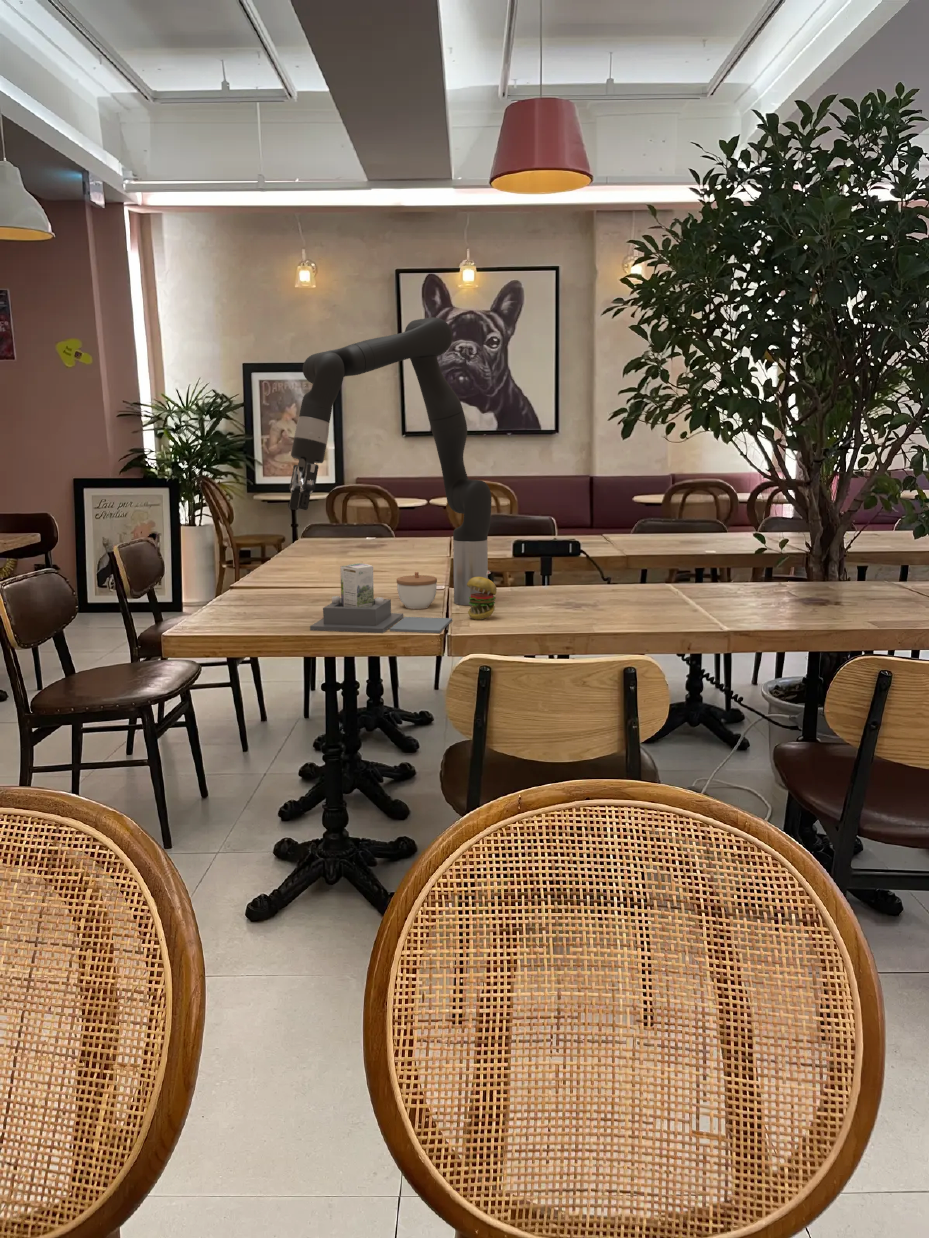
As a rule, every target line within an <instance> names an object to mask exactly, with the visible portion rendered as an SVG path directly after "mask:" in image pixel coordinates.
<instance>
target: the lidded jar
mask: <svg viewBox="0 0 929 1238" xmlns="http://www.w3.org/2000/svg"><path fill="white" fill-rule="evenodd" d="M437 582H438V579H437V577H435V576H432V575H422V574H421V575H420V574H419V572H418V571H415V572H414V575H403V576H399V577H397V578H396V584H397V587H396V588H397V594H398V595H397V596H398V598H399V600H400V602H401V603H402V604H403V605H404V606H405V609H409V610H410V609H411V610H422V609H423V610H424V609H427V608H429V607H430V605H431V604H432V603H433V602H434V600H435V598H436V594H437V587H438V586H437Z"/></svg>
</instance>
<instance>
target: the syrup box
mask: <svg viewBox="0 0 929 1238" xmlns="http://www.w3.org/2000/svg"><path fill="white" fill-rule="evenodd" d="M374 588H375V587H374V566H373V565H372V564H371V565H370V564H368V563H363V562H362V563H352V564H351V563H350V564H347V565H341V566H340V598H341V607H367V608H370V607H372V606H373V605H374V599H375V597H374V595H375V594H374Z"/></svg>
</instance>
